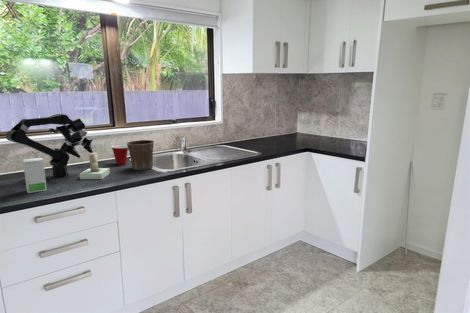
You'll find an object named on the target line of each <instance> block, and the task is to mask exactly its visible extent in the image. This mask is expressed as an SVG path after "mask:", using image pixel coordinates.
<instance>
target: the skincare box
mask: <svg viewBox="0 0 470 313" xmlns="http://www.w3.org/2000/svg"><path fill="white" fill-rule="evenodd" d="M22 163H23V164H22V165H23V170H24V171H23V172H24V178H25V180H24V182H25V187H26V188H25V189H26V191H27V193H28V194H31V193H39V192H45V191H48V190H47V179H46V172H45V165H44V159H43V158H42V157H38V158H36V157H35V158H26V159H25V158H24V159H22Z"/></svg>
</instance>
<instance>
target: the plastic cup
mask: <svg viewBox="0 0 470 313" xmlns="http://www.w3.org/2000/svg"><path fill="white" fill-rule="evenodd" d="M111 149H112V153H113V157H114V160H115V162H116V166H122V165H124V166H125V165H126V164H127V158H128V152H129V150H128V146H127V144H126V145H123V144H118V145H116V144H114V145H111Z"/></svg>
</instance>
